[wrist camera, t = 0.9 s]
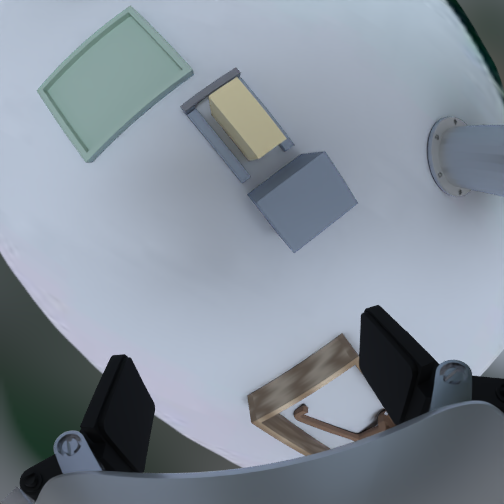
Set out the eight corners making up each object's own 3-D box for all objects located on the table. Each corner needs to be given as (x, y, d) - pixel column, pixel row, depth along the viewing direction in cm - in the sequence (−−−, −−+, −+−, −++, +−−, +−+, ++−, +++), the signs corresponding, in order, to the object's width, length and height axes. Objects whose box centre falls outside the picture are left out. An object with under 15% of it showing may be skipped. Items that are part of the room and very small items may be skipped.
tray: (133, 11, 24) (130, 5, 22) (193, 74, 28) (192, 69, 26) (43, 92, 25) (36, 90, 23) (92, 162, 29) (85, 162, 28)
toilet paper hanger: (290, 397, 47) (288, 432, 41) (327, 377, 43) (329, 414, 37) (365, 429, 53) (368, 455, 47) (397, 413, 49) (402, 441, 43)
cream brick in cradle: (232, 100, 29) (236, 76, 21) (269, 145, 31) (286, 138, 23) (211, 114, 30) (208, 96, 21) (248, 161, 32) (259, 158, 23)
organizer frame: (342, 333, 40) (358, 356, 34) (401, 415, 50) (412, 432, 44) (247, 395, 42) (251, 422, 36) (336, 456, 52) (343, 475, 46)
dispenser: (236, 73, 28) (242, 47, 21) (328, 194, 34) (358, 203, 26) (181, 112, 29) (169, 96, 21) (277, 233, 34) (294, 253, 27)
